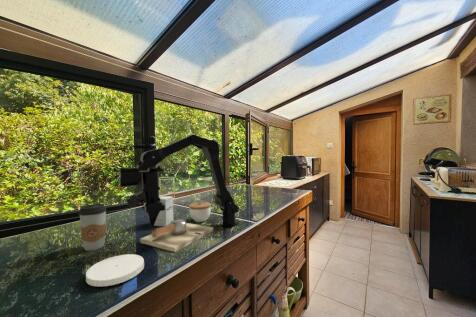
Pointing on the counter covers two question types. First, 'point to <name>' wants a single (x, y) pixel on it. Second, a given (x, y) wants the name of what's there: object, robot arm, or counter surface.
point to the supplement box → (165, 212)
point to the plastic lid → (114, 270)
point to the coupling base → (177, 238)
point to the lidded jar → (200, 211)
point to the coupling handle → (171, 228)
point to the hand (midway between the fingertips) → (152, 225)
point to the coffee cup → (93, 226)
